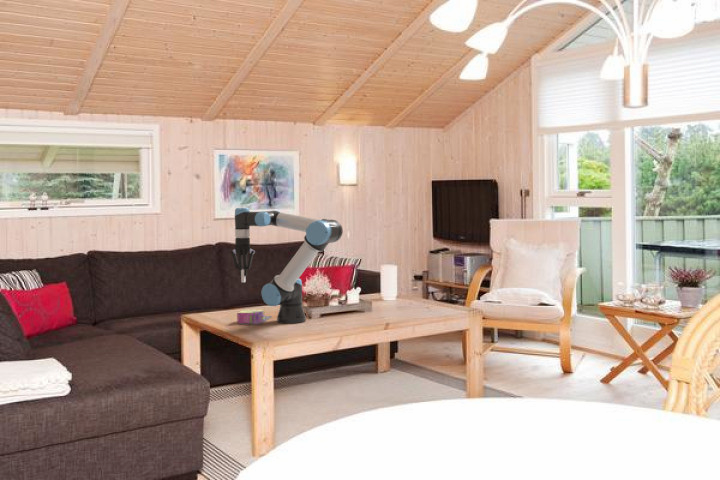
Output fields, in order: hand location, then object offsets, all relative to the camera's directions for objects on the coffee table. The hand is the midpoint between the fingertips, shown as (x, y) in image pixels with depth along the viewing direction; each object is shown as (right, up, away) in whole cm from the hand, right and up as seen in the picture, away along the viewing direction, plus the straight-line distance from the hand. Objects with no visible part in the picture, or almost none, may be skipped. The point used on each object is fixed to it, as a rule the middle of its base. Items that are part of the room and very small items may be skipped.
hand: (243, 282), depth 386 cm
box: (-2, -18, +1) cm, 18 cm away
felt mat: (+6, -21, +7) cm, 23 cm away
